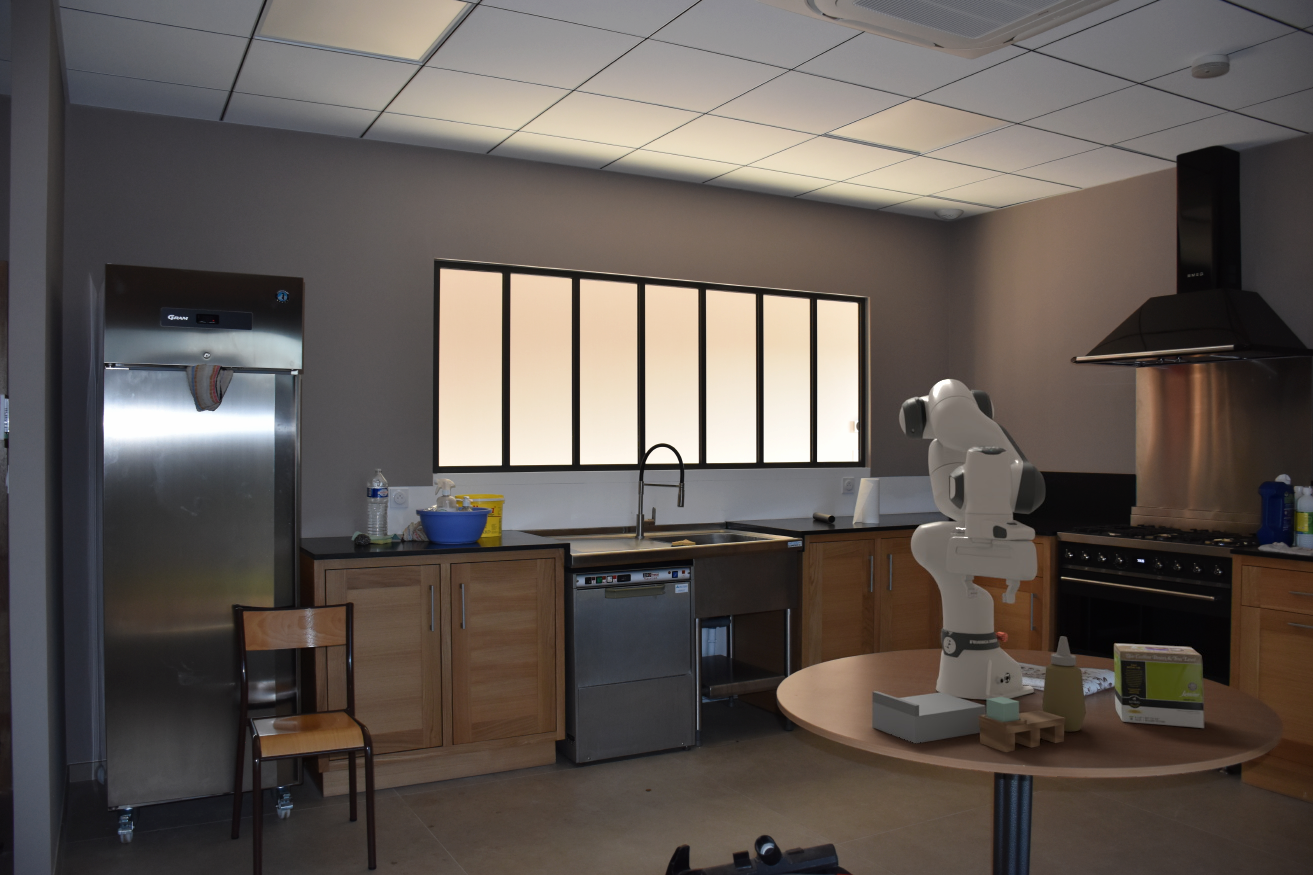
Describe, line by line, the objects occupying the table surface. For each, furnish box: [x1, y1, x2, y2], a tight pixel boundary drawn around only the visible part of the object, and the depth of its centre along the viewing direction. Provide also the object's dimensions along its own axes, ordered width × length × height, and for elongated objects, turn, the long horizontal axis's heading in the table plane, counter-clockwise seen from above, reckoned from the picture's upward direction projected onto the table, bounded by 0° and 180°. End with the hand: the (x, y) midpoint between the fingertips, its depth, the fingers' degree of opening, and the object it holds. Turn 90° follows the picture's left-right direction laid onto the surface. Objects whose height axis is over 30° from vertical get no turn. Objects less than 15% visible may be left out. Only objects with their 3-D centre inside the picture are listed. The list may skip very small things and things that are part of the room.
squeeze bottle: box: [1041, 636, 1087, 732], centre depth 185 cm, size 8×8×18 cm
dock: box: [871, 690, 987, 744], centre depth 184 cm, size 18×12×7 cm, turn 117°
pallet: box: [979, 709, 1065, 753], centre depth 176 cm, size 16×6×5 cm, turn 117°
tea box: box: [1113, 642, 1205, 729], centre depth 192 cm, size 15×10×15 cm, turn 71°
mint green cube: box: [986, 697, 1020, 722], centre depth 173 cm, size 4×4×4 cm
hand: (989, 600), depth 181 cm, fingers open, 8 cm apart
